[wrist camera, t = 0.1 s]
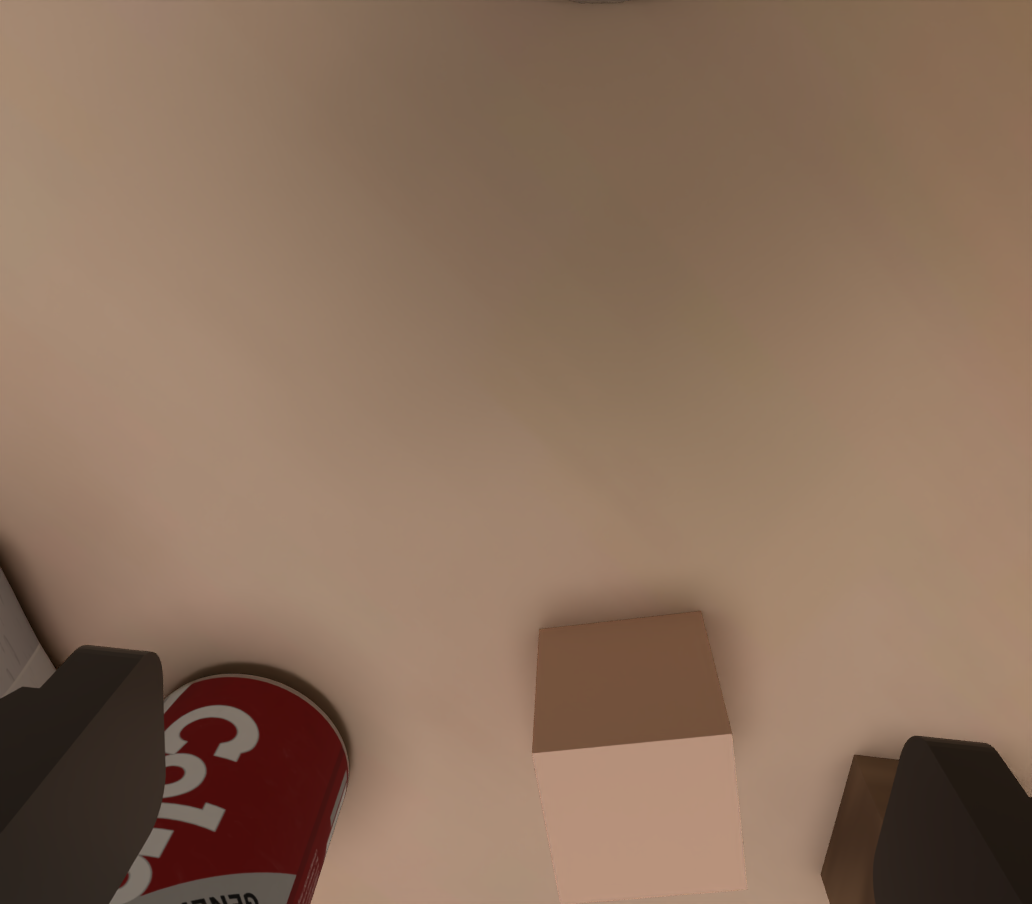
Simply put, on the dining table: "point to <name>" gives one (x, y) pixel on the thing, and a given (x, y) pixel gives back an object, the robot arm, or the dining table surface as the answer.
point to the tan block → (636, 761)
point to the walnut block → (858, 831)
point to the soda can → (241, 797)
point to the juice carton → (19, 646)
